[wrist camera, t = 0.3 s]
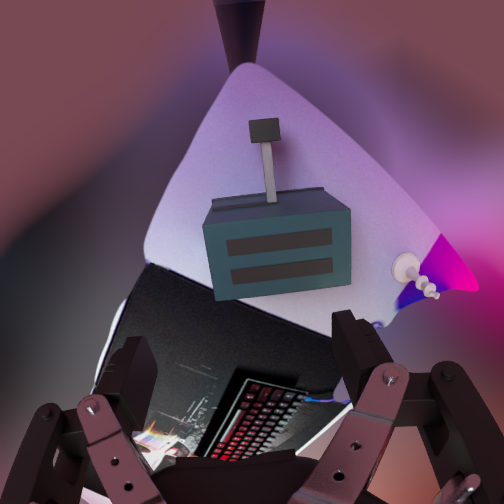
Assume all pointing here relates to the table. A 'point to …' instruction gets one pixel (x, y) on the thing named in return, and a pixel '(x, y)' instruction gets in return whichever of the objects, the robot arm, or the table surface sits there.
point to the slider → (266, 149)
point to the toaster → (277, 243)
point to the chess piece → (412, 273)
